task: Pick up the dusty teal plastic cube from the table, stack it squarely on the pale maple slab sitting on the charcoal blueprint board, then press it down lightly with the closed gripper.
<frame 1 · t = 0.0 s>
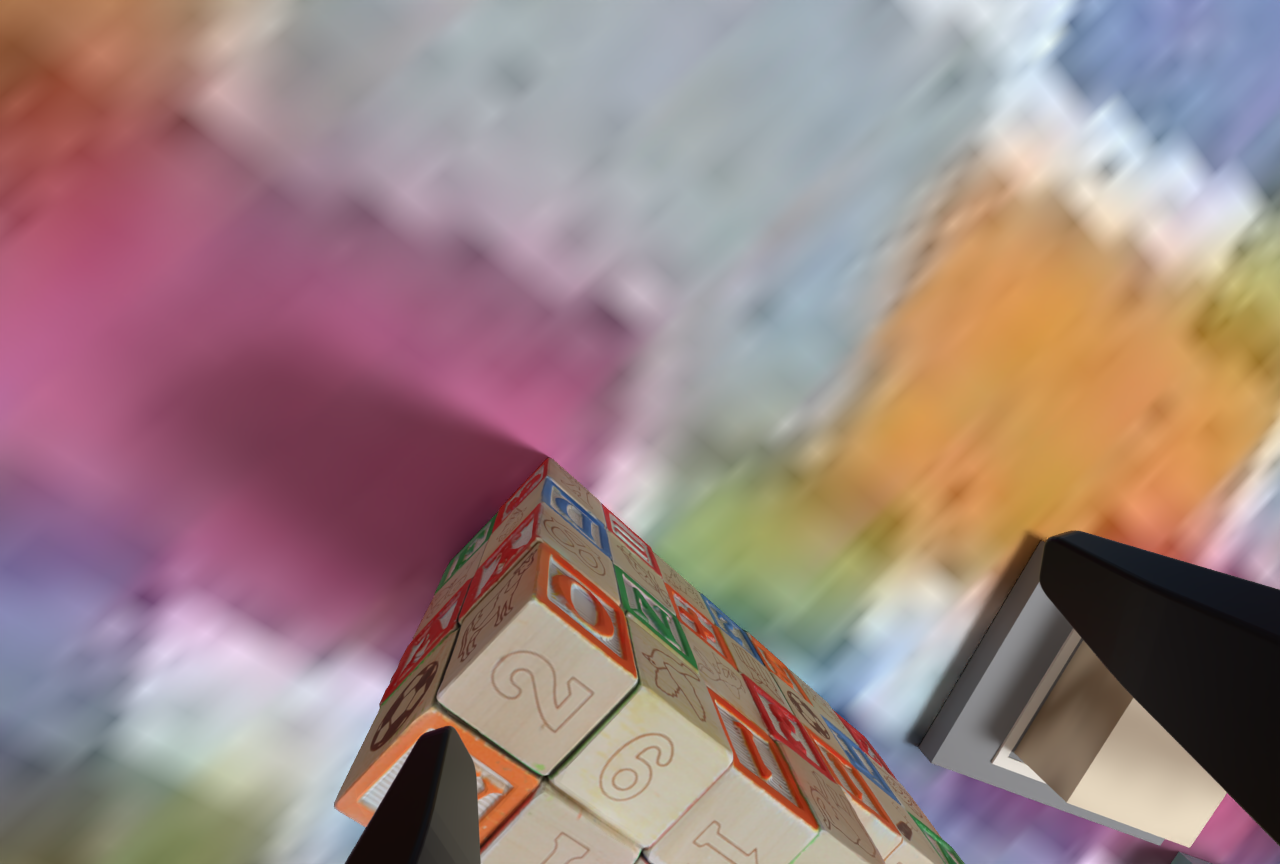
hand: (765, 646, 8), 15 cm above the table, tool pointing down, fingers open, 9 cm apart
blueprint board: (1095, 696, 29), on the table
stack of blocks: (674, 653, 26), on the table
maple slab: (1113, 709, 28), point 1 cm above the table, touching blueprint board
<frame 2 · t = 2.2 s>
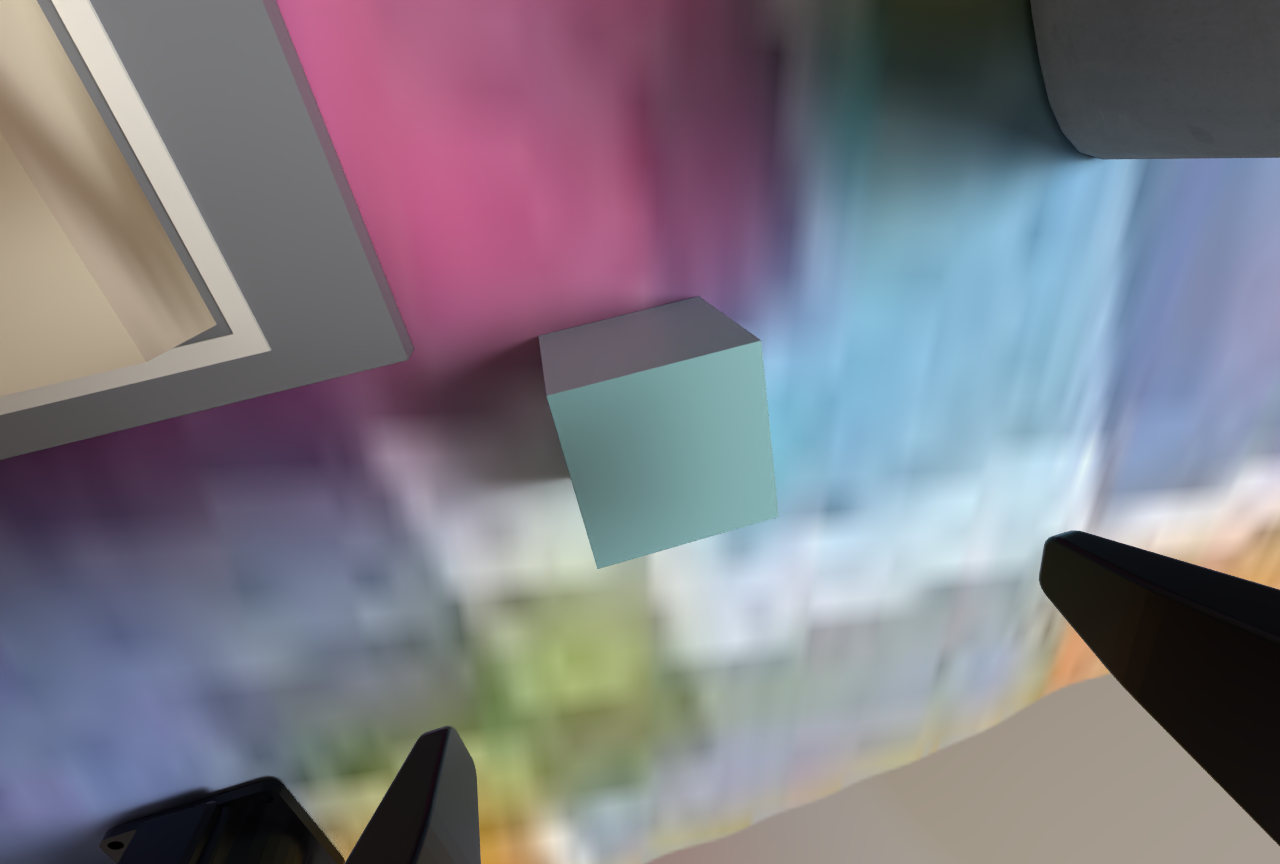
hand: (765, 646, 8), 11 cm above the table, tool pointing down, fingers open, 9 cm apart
teal cube: (635, 389, 18), on the table
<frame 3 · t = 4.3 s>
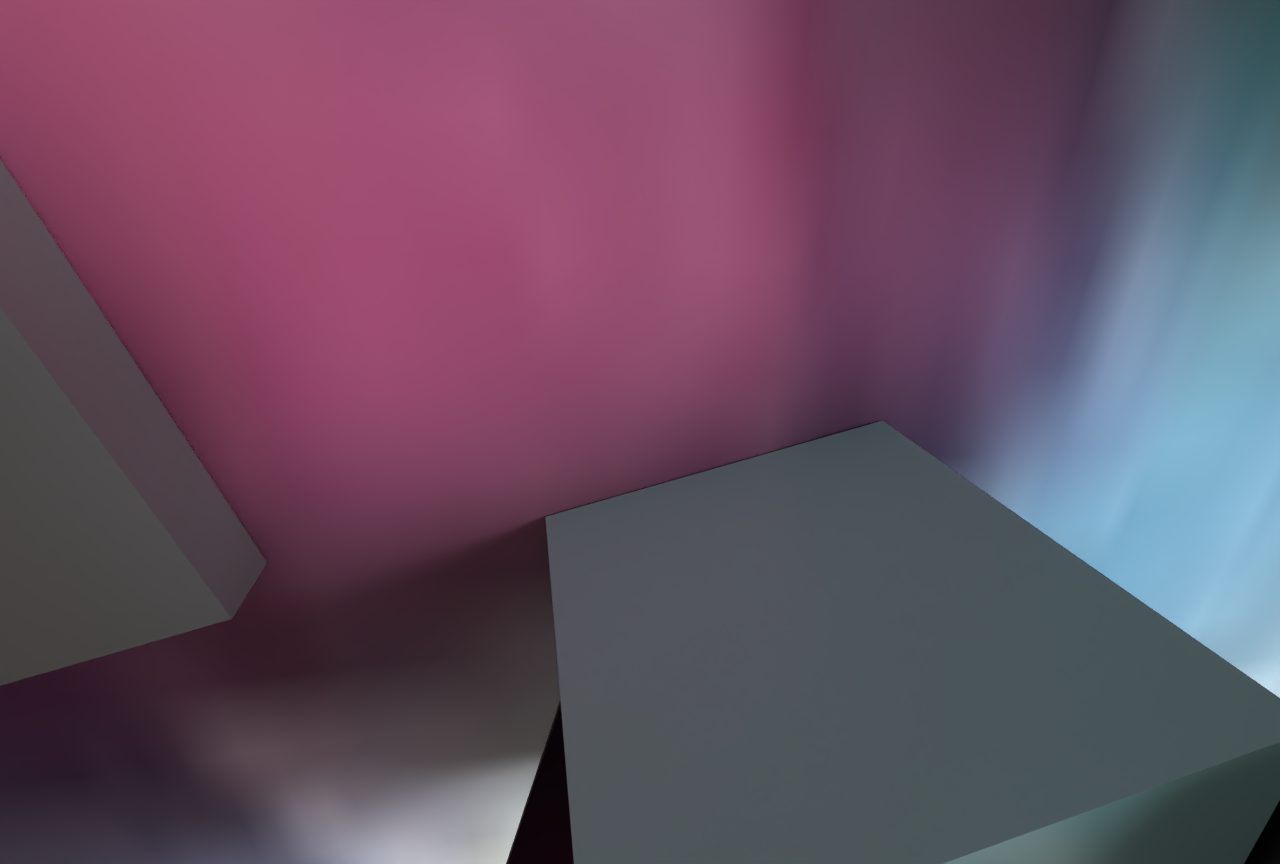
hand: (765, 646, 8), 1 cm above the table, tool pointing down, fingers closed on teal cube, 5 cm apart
teal cube: (739, 597, 9), on the table, touching gripper
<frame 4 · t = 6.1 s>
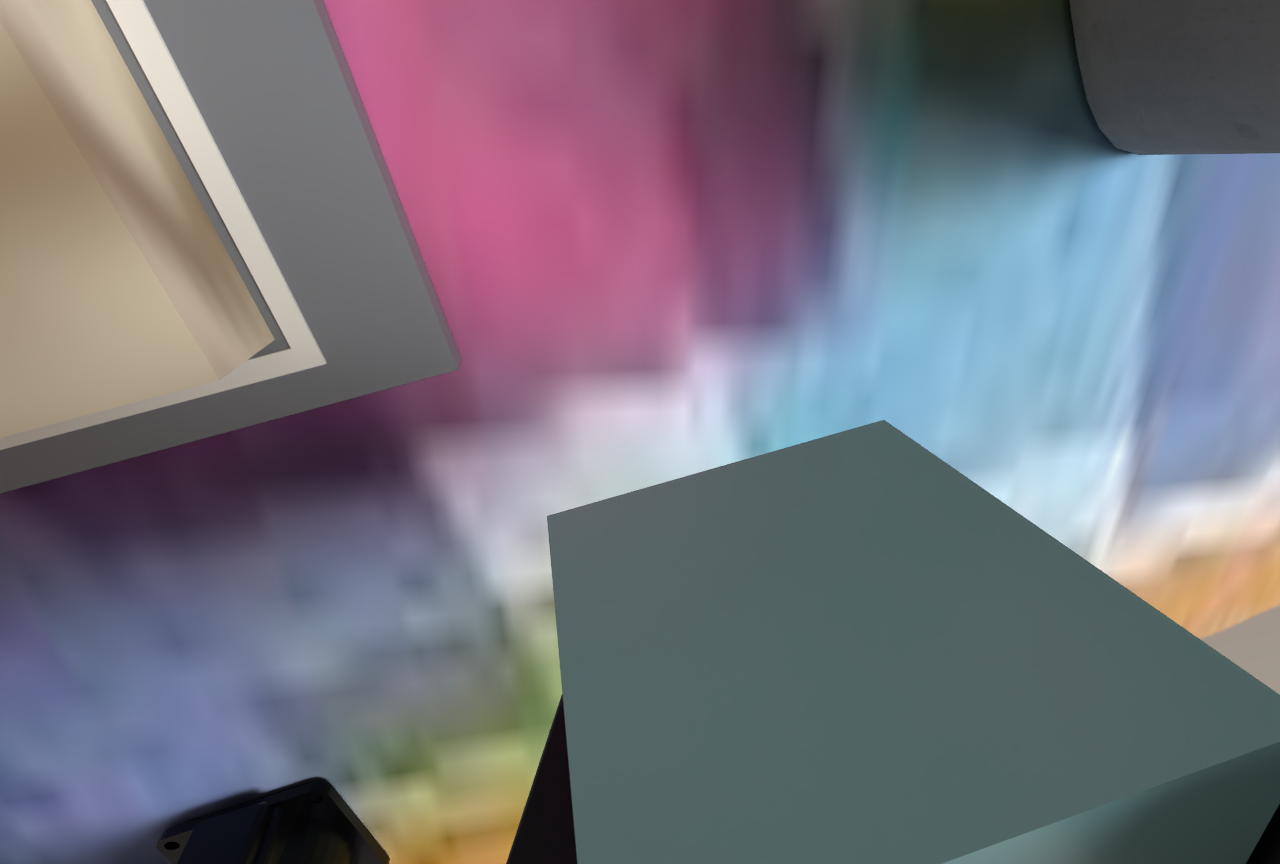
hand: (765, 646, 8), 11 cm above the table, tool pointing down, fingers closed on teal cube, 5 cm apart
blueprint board: (29, 210, 13), on the table
teal cube: (740, 596, 9), point 10 cm above the table, touching gripper
when the fingers open (6 cm above the table, at t = 8.2 s): teal cube drops 1 cm, resting on maple slab.
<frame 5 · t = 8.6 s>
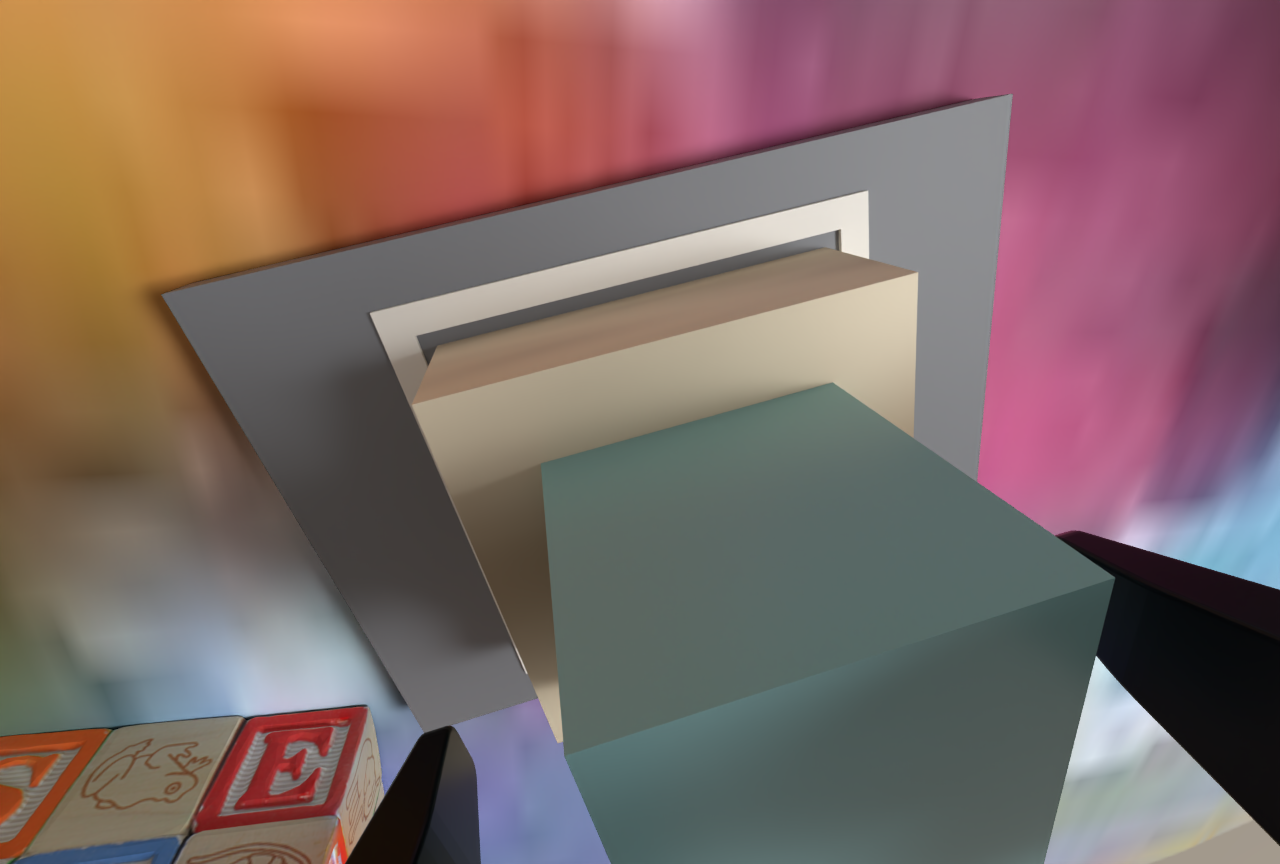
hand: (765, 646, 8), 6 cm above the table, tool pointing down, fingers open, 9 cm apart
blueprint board: (662, 445, 14), on the table
maple slab: (671, 464, 13), point 1 cm above the table, touching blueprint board, teal cube
teal cube: (711, 541, 10), point 4 cm above the table, touching maple slab
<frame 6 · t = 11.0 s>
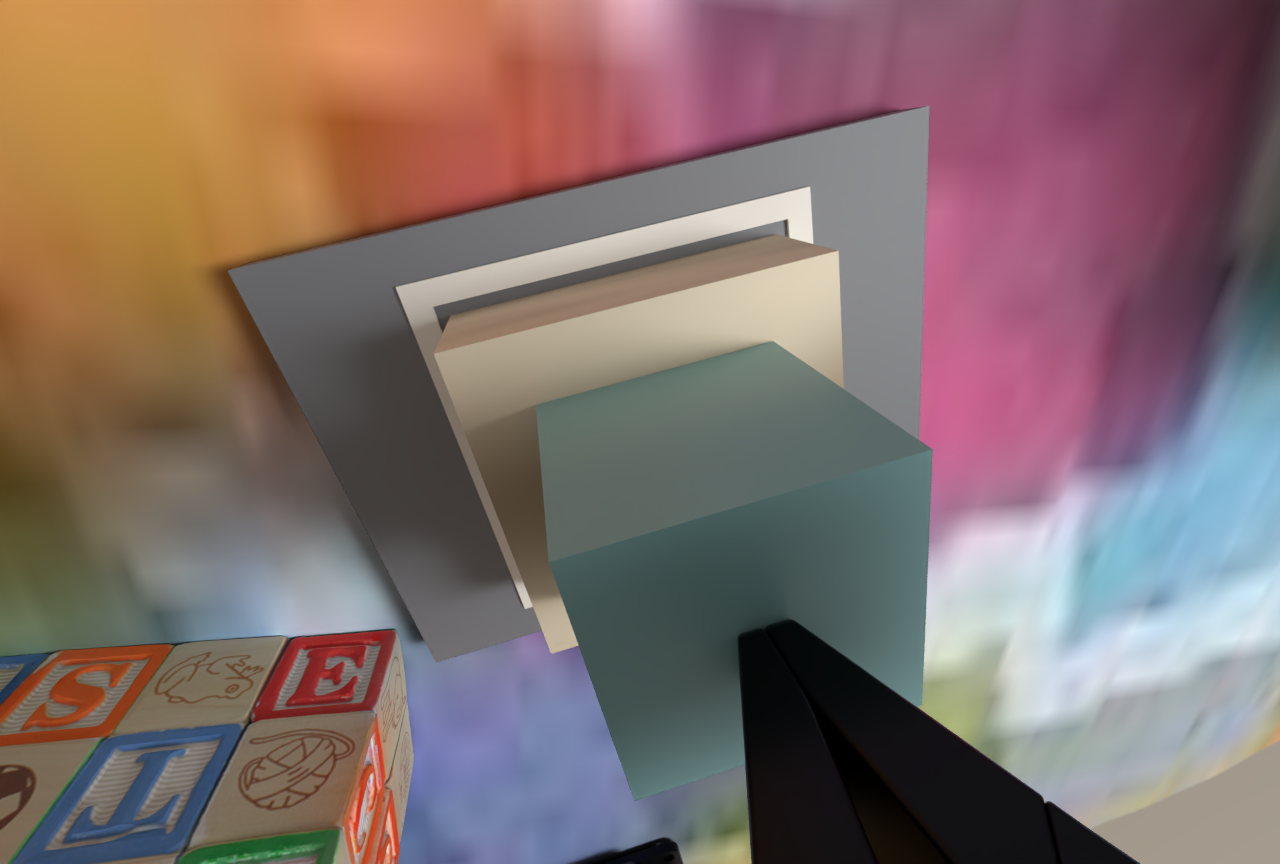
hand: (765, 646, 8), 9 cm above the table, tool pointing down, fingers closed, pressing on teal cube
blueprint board: (642, 407, 16), on the table
stack of blocks: (33, 722, 17), on the table
maple slab: (649, 421, 15), point 1 cm above the table, touching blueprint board, teal cube
teal cube: (677, 475, 12), point 4 cm above the table, touching gripper, maple slab
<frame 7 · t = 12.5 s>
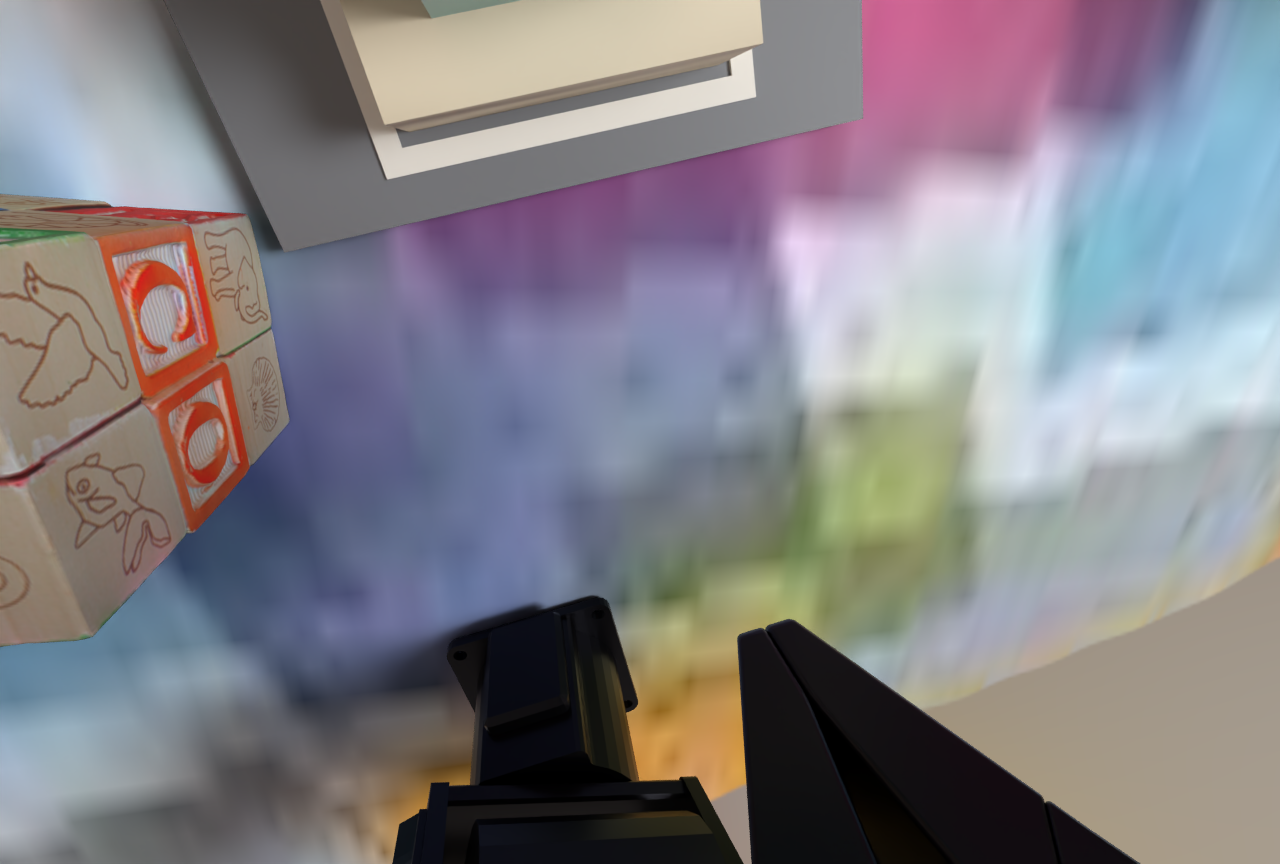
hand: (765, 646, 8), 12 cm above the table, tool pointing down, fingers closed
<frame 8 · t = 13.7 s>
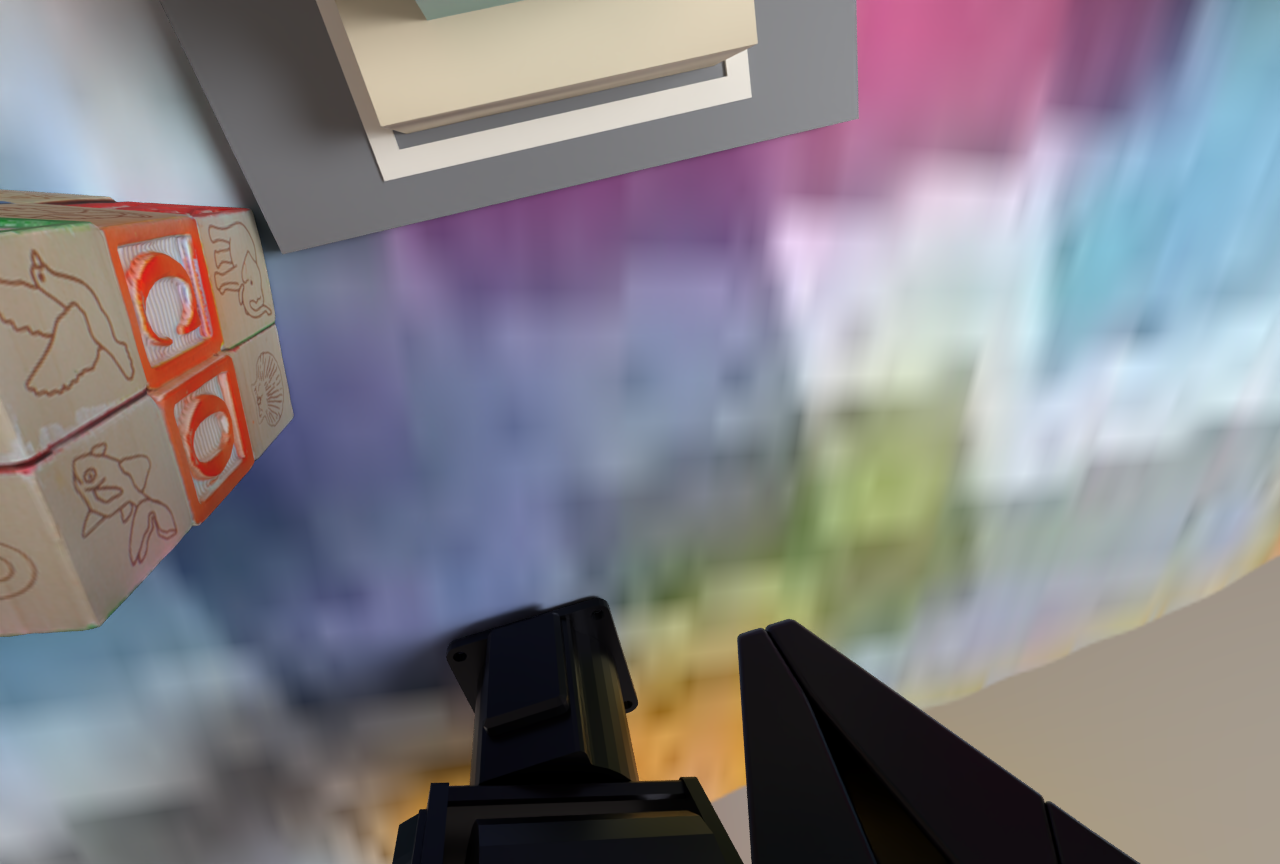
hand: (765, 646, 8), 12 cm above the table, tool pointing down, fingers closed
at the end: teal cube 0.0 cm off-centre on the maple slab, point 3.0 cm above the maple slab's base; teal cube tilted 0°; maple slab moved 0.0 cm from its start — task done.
